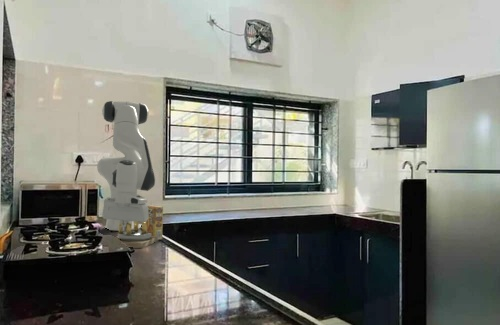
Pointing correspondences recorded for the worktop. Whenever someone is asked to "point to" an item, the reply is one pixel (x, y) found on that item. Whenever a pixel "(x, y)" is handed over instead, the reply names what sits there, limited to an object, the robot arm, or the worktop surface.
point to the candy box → (155, 221)
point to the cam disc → (134, 232)
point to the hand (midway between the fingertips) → (124, 231)
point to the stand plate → (141, 242)
